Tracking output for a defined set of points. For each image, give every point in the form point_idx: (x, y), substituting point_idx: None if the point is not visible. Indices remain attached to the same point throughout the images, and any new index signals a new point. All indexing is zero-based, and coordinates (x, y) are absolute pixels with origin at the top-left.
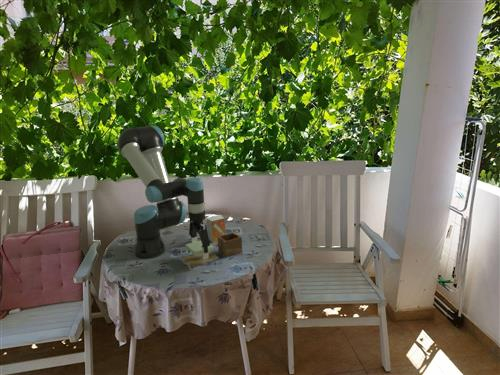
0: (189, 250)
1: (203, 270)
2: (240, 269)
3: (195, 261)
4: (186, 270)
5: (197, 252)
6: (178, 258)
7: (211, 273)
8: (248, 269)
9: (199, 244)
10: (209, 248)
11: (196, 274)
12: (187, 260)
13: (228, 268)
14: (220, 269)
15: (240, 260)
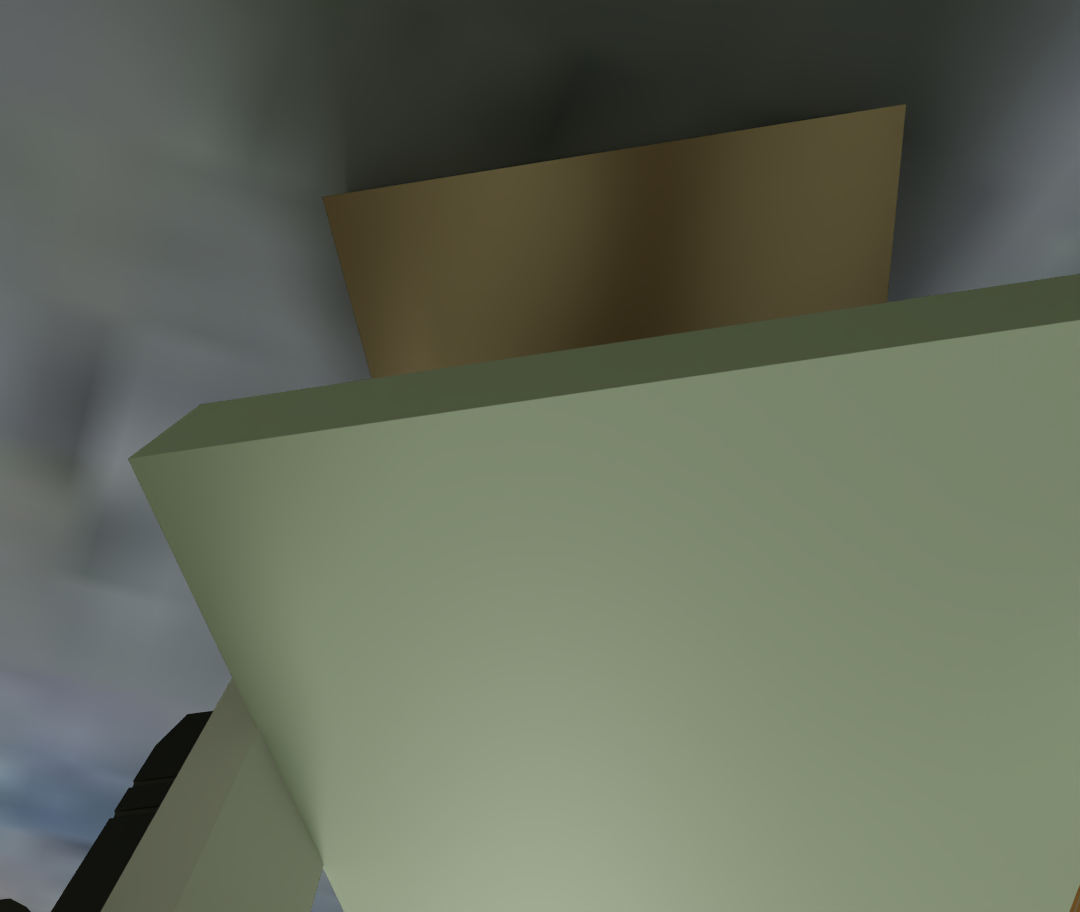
0: (747, 323)
1: (170, 400)
2: (71, 843)
3: (495, 352)
4: (280, 29)
5: (203, 544)
6: (1050, 10)
7: (10, 495)
8: (51, 903)
9: (804, 760)
10: (347, 897)
11: (12, 213)
12: (652, 176)
13: (140, 744)
14: (135, 651)
15: (337, 900)
